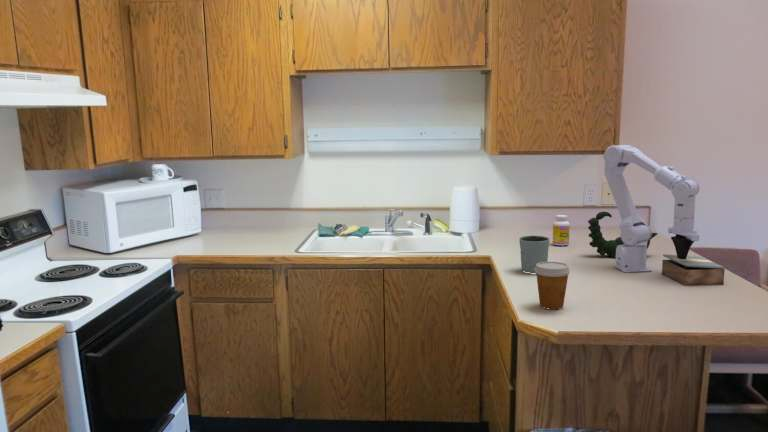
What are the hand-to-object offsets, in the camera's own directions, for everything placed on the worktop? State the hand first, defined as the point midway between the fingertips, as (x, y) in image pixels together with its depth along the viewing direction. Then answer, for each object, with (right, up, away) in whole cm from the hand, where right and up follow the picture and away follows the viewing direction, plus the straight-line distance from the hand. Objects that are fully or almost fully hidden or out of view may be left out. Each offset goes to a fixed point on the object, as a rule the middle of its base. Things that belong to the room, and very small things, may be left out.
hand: (681, 258), depth 174 cm
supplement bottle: (-21, +1, +55) cm, 59 cm away
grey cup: (-44, -6, +15) cm, 47 cm away
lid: (+3, -1, -1) cm, 3 cm away
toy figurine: (-5, -2, +33) cm, 33 cm away
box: (+3, -7, 0) cm, 7 cm away
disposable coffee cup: (-49, -12, -22) cm, 55 cm away
